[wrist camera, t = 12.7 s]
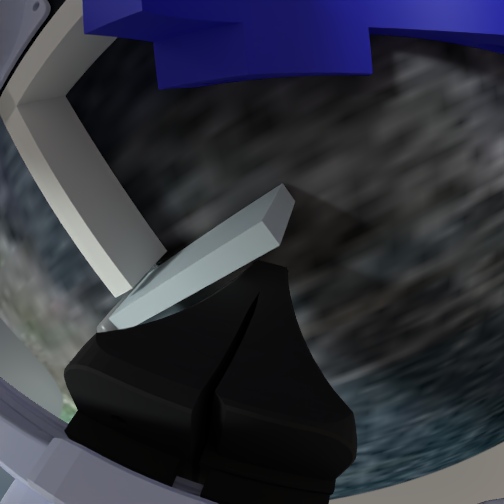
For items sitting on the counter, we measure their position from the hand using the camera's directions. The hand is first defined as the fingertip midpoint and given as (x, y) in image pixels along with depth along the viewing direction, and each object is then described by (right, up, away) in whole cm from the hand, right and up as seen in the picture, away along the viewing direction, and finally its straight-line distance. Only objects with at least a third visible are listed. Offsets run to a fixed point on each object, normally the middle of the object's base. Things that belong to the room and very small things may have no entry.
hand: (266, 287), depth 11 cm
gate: (-2, +2, +2) cm, 4 cm away
